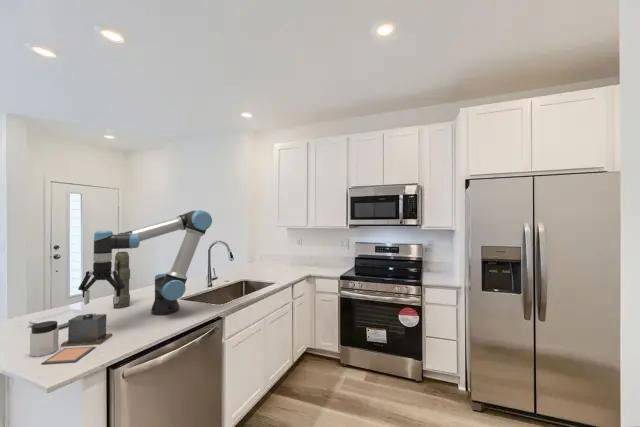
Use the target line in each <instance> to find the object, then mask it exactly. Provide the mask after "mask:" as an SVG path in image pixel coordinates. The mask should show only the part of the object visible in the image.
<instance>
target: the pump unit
mask: <svg viewBox="0 0 640 427" xmlns="http://www.w3.org/2000/svg"><path fill="white" fill-rule="evenodd" d="M67 329H68V334H67V338H68V339H67V340H64V341H63V342H61V344H60V347H76V346H77V347H78V346H95V345H101V344H103V343H104V342H106V341H107V340H108V339H110V338H111V337H112V336H113V333H110V332H109V333H107V313H101V314H97V313H96V315H93V314H86V315H78V316H76V317H74V318H72V319H70V320H68V326H67Z"/></svg>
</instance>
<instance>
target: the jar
mask: <svg viewBox="0 0 640 427" xmlns="http://www.w3.org/2000/svg"><path fill="white" fill-rule="evenodd" d="M59 329H60V328H59V327H57V321H46V322H41V323H38V324H35V325H31V332H30V333H29V356H30V357H38V358H40V357H43V356H47V355H50V354H54V353H55V352H56V351H57V350H58V349H59V335H60V334H59V333H60V332H59Z"/></svg>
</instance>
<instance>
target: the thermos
mask: <svg viewBox="0 0 640 427" xmlns="http://www.w3.org/2000/svg"><path fill="white" fill-rule="evenodd" d="M116 270H118V273H119V276H120V278H121V280H122V282H123V284H124V286H125V288H123V289H121V293H120V296H119V301H118V303H116V304H114V296H113V298H112V299H113V300H112V305H113V309H116V310H117V309H118V310H119V309H125V308H129V307H130V305H131V304H130V303H131V294H130V279H131V268H130V255H129V253H128V251H118V252H116V253H115V256H114V270H113V271H116ZM113 279H114V281H115V282H116V280H115V278H114V277H113ZM116 283H117V282H116ZM113 289H114V291H115V290H116V289H115V288H114V287H113ZM114 291H113V292H114Z"/></svg>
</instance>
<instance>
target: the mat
mask: <svg viewBox="0 0 640 427" xmlns="http://www.w3.org/2000/svg"><path fill="white" fill-rule="evenodd" d="M94 349H96V346H95V345H94V346H82V347H78V346H77V347H65V348H63V349H61V350H60V351H58V352H56V353H55V354H54V355H52V356H50V357H49V358H47V359H45V360H44V361H43V362H41V365H42V366H43V365H56V364H58V365H59V364H71V363H72V364H73V363H76V362H77V363H78V361H80V360H81V359H83V357H86V355H88V354H89V353H90V352H92V351H93V350H94Z"/></svg>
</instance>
